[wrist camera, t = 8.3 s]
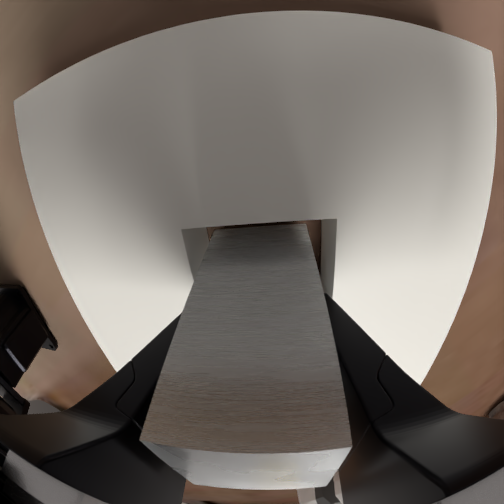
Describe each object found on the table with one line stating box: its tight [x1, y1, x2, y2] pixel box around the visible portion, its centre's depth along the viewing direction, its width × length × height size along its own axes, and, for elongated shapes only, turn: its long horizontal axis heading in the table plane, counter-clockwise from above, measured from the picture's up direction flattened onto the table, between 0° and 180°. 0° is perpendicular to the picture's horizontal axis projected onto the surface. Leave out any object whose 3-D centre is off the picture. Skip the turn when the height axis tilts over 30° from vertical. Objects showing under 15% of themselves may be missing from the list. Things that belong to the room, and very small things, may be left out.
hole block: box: [14, 11, 497, 385], centre depth 11 cm, size 18×18×3 cm
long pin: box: [140, 223, 352, 490], centre depth 8 cm, size 3×3×8 cm
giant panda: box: [297, 470, 343, 504], centre depth 20 cm, size 15×6×10 cm, turn 171°
